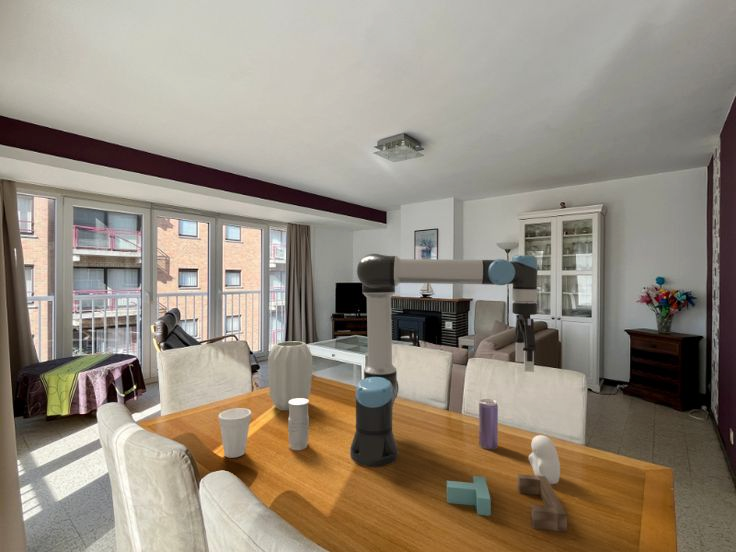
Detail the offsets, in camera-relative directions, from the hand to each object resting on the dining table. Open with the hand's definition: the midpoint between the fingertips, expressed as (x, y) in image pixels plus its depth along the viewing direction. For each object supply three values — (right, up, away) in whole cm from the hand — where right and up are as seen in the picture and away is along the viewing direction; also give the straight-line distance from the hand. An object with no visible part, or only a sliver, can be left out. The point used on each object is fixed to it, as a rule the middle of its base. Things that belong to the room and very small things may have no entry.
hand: (524, 366), depth 124 cm
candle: (-75, -27, +2) cm, 80 cm away
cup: (-94, -27, -4) cm, 98 cm away
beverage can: (-11, -28, +2) cm, 30 cm away
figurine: (-1, -28, -18) cm, 33 cm away
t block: (-26, -27, -29) cm, 48 cm away
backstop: (-9, -27, -31) cm, 43 cm away
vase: (-86, -27, +40) cm, 99 cm away
